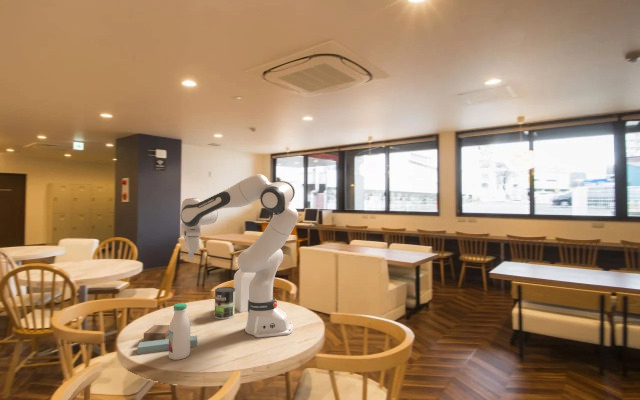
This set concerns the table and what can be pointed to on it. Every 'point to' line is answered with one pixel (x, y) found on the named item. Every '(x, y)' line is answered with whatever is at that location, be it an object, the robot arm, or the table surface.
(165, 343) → the board
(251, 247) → the robot arm
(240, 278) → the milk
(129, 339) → the table surface
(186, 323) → the milk bottle
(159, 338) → the block
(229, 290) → the coffee can
